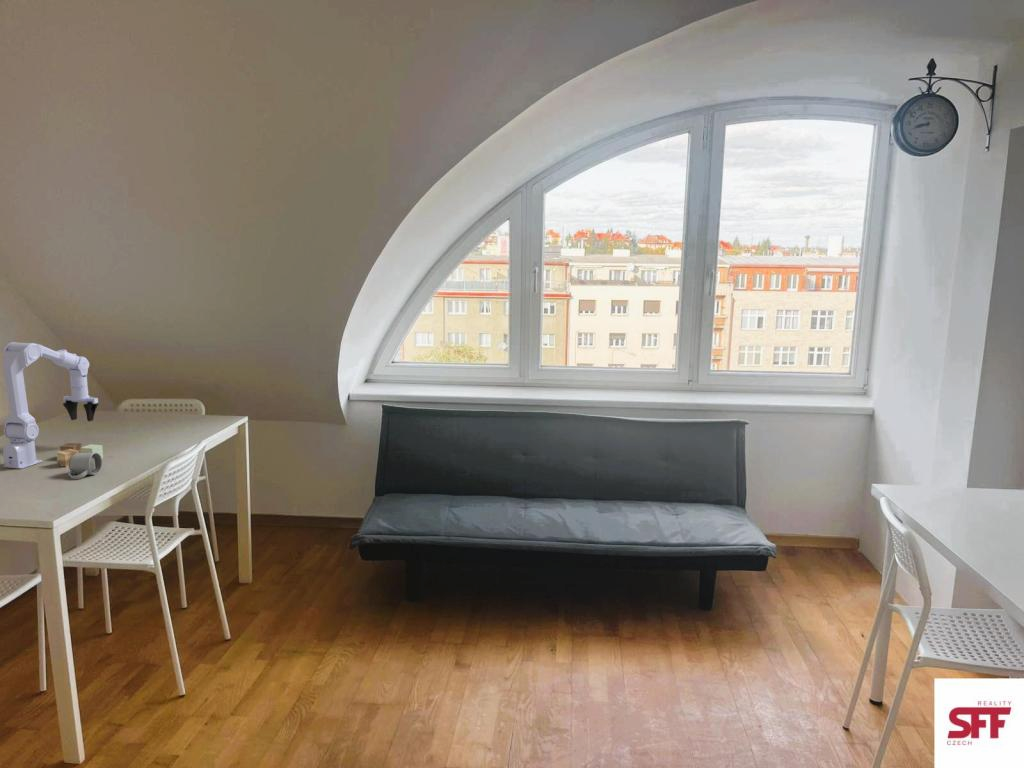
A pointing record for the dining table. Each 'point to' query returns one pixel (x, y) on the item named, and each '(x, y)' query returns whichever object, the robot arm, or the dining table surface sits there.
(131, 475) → the dining table surface
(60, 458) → the oak block
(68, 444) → the walnut block
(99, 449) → the sage block
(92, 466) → the ceramic mug
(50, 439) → the dining table surface
